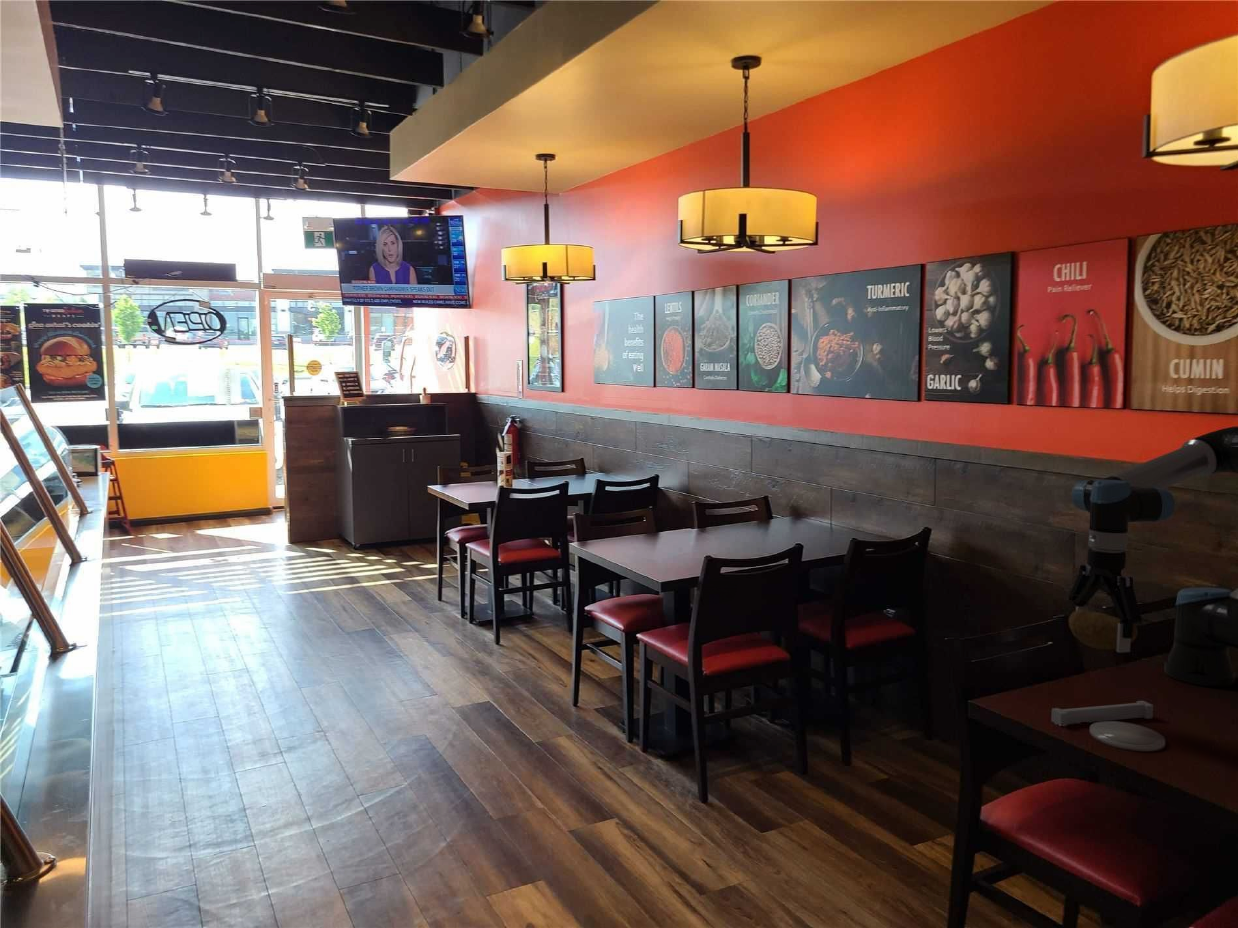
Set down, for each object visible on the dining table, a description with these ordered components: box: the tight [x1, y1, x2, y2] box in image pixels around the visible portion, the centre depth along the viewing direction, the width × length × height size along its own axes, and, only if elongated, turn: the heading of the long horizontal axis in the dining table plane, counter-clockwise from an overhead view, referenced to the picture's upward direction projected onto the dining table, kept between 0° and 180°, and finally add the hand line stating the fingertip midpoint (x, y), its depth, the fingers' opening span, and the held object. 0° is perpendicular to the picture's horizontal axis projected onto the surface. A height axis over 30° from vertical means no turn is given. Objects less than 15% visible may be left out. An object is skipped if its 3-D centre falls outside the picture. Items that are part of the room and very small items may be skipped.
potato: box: [1068, 610, 1139, 650], centre depth 196 cm, size 10×14×8 cm
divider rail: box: [1050, 700, 1154, 727], centre depth 196 cm, size 24×3×3 cm, turn 101°
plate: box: [1089, 720, 1166, 752], centre depth 187 cm, size 14×14×1 cm
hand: (1101, 642), depth 196 cm, fingers closed on potato, 13 cm apart
